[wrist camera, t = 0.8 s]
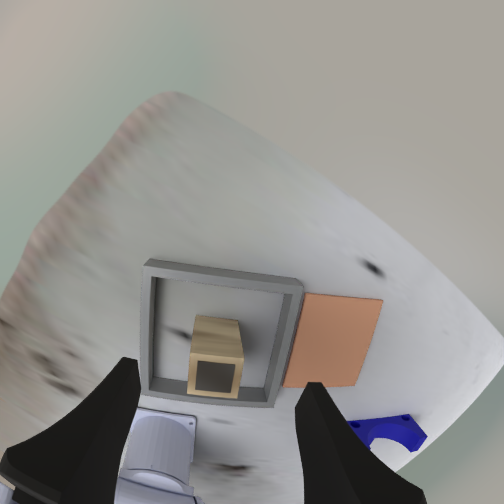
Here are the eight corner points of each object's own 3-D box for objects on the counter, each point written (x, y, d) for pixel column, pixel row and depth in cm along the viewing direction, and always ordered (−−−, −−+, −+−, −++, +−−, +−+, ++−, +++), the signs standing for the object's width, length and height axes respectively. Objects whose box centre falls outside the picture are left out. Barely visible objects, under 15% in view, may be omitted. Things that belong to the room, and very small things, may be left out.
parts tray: (269, 393, 29) (273, 407, 27) (145, 380, 27) (141, 394, 25) (296, 278, 27) (303, 286, 25) (149, 258, 25) (142, 265, 23)
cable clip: (332, 441, 33) (346, 471, 27) (344, 420, 32) (360, 450, 26) (395, 433, 35) (412, 457, 29) (408, 413, 34) (427, 436, 28)
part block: (231, 355, 28) (237, 399, 21) (192, 350, 27) (187, 394, 20) (237, 320, 27) (244, 359, 20) (195, 314, 27) (190, 353, 20)
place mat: (353, 383, 31) (354, 385, 30) (282, 385, 29) (283, 387, 29) (381, 299, 29) (383, 300, 28) (305, 292, 27) (306, 294, 27)
